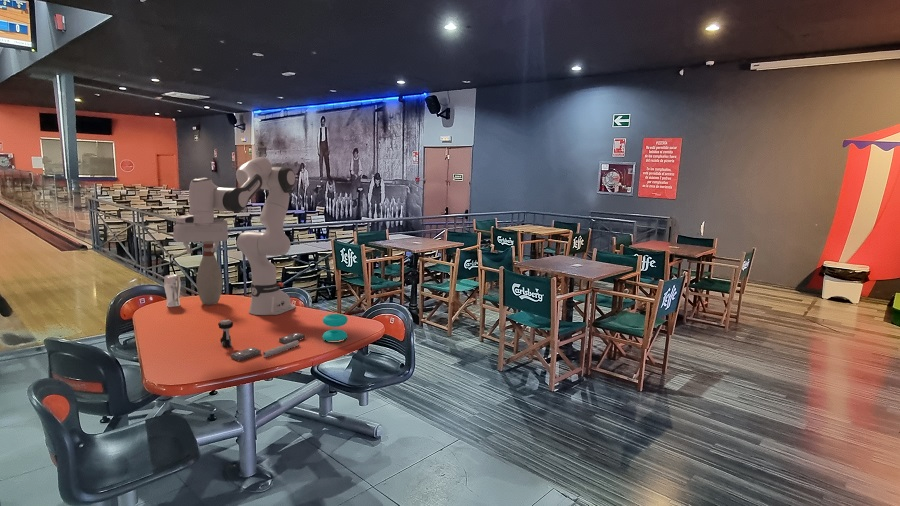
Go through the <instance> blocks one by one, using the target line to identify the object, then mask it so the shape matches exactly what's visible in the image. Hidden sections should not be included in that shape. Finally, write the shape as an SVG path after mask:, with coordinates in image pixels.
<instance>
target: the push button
mask: <svg viewBox="0 0 900 506" xmlns="http://www.w3.org/2000/svg"><path fill="white" fill-rule="evenodd" d="M217 326H218V328H219V329H221V330H222V336H221V338H220V340H219V341H220V344H221V346H222V347H224V348H225V347H226V348H229V347H230V346H231V347H232V338H231V335H230V329H231V328H233V326H234V322H233V321H232V320H231V319H221V320H220V322H218V324H217ZM223 345H224V346H223Z"/></svg>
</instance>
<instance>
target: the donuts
mask: <svg viewBox="0 0 900 506" xmlns="http://www.w3.org/2000/svg"><path fill="white" fill-rule="evenodd" d="M322 323H323V324H324V325H325V326H327V327H331V328H332V327H333V328H335V329H329V330H327V331H325V332H324V333H323V334H322V339H323V341H325V340H326V341H339V340H343V339H346V338H347V339H348V333H347V332H346V331H345V330H342V329H336V328H339V327H342V326H344V325H346V324H347V323H348V317H347V316H346V315H345V314H342V313H341V314H340V313H332V314H327V315H325V316H324V317H323V318H322ZM347 339H346V340H347ZM326 341H325V342H326Z"/></svg>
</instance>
